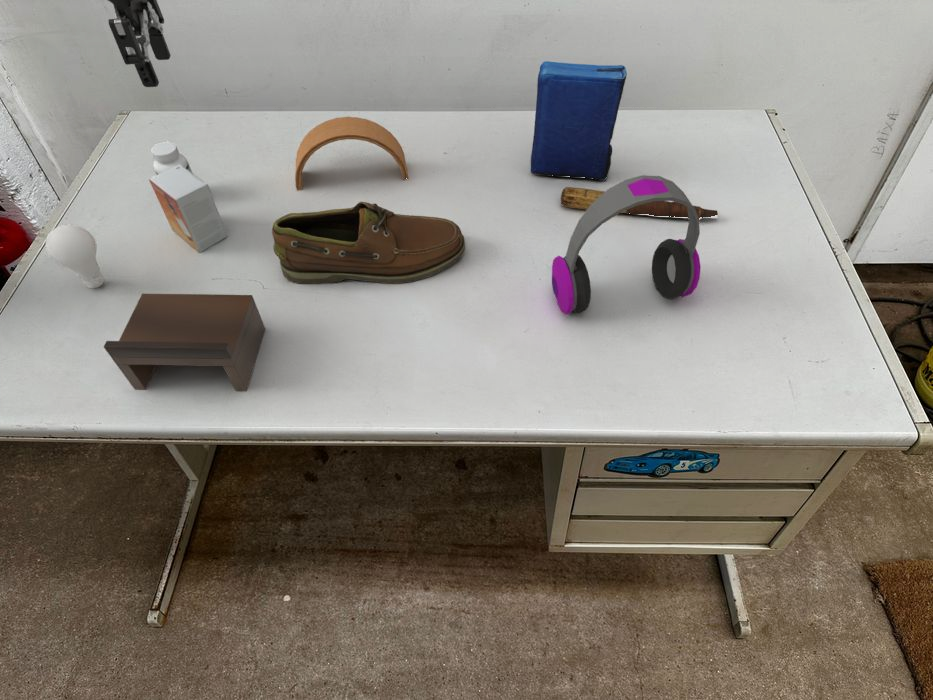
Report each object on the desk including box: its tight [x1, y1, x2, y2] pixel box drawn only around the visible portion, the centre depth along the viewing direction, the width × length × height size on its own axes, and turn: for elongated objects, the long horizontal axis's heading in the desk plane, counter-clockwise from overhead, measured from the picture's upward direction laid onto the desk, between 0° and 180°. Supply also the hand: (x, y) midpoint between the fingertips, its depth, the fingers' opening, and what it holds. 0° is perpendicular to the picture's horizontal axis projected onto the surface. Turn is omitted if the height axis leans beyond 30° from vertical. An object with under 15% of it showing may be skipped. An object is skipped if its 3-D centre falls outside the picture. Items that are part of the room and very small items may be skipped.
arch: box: [294, 116, 409, 192], centre depth 107 cm, size 6×20×10 cm, turn 99°
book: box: [530, 61, 628, 180], centre depth 103 cm, size 14×5×20 cm, turn 82°
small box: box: [148, 164, 228, 253], centre depth 96 cm, size 8×6×10 cm
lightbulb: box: [45, 223, 105, 289], centre depth 89 cm, size 6×6×11 cm
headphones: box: [551, 174, 702, 315], centre depth 84 cm, size 21×9×20 cm, turn 101°
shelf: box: [103, 293, 266, 392], centre depth 81 cm, size 11×15×9 cm
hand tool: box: [560, 186, 719, 219], centre depth 103 cm, size 4×26×3 cm, turn 79°
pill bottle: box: [150, 141, 194, 175], centre depth 103 cm, size 5×5×10 cm
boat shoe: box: [271, 201, 466, 285], centre depth 92 cm, size 10×29×10 cm, turn 102°
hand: (158, 72), depth 94 cm, fingers open, 8 cm apart
